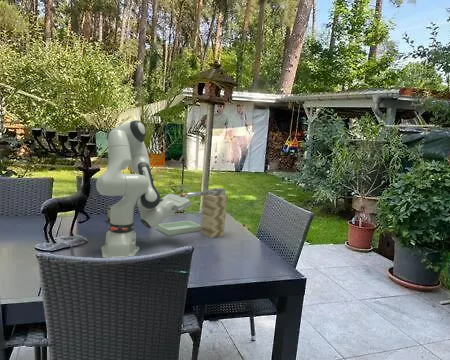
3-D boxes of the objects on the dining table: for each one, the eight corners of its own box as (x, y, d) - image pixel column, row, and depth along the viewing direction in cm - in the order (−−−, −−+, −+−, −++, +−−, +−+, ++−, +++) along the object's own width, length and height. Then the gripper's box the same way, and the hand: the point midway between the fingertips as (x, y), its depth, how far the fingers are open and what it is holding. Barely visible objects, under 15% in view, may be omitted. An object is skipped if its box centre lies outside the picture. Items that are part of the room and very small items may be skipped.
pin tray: (168, 236, 217) (168, 230, 216) (156, 229, 227) (156, 224, 227) (201, 231, 232) (201, 225, 232) (188, 225, 243) (189, 220, 242)
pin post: (211, 237, 220) (214, 190, 216) (201, 233, 227) (204, 187, 223) (223, 235, 226) (227, 189, 222) (213, 231, 234) (217, 186, 230)
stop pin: (182, 198, 206) (183, 194, 206) (180, 197, 208) (180, 193, 208) (208, 195, 218) (208, 191, 217) (205, 194, 220) (206, 190, 219)
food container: (125, 224, 233) (125, 209, 232) (116, 225, 229) (117, 210, 227) (114, 220, 241) (115, 205, 240) (106, 221, 237) (106, 206, 236)
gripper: (176, 207, 193) (195, 193, 200) (156, 199, 209) (175, 186, 215) (180, 216, 196) (199, 202, 203) (161, 208, 211) (179, 195, 218)
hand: (187, 194), depth 209 cm, fingers closed on stop pin, 2 cm apart
